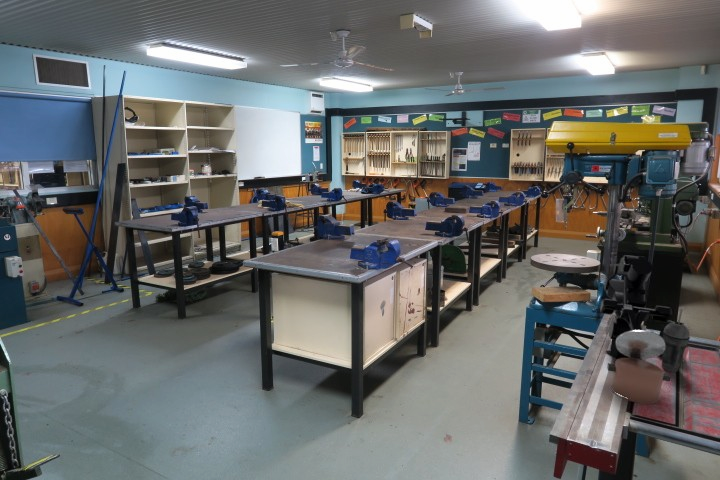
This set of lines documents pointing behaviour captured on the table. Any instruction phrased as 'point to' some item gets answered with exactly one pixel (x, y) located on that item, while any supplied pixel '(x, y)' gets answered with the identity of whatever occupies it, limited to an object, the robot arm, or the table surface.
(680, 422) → the table surface
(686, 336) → the beverage cup
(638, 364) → the cooker pot
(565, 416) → the table surface
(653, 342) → the cooker lid
